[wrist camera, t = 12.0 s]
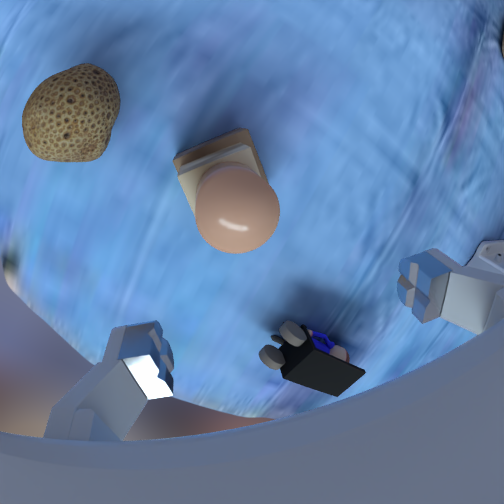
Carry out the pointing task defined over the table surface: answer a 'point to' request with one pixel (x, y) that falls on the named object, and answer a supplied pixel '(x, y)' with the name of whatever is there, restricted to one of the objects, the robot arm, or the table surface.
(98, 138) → the natural sponge
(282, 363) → the toy car
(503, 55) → the stone cup
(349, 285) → the table surface
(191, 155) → the tower base
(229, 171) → the tan rounded cylinder
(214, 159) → the tower top
